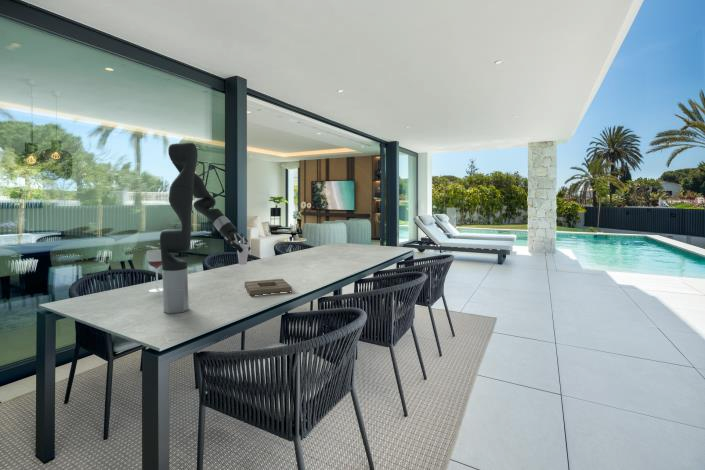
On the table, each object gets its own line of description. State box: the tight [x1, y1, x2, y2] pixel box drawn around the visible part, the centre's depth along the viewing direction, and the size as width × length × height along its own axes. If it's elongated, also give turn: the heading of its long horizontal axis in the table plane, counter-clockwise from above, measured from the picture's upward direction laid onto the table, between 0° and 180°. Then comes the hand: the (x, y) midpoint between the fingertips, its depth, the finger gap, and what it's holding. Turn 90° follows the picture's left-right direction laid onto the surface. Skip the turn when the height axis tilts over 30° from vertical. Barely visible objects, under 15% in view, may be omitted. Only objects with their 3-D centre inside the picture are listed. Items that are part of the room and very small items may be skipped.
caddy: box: [244, 278, 293, 297], centre depth 181 cm, size 20×20×3 cm
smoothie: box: [236, 236, 250, 266], centre depth 180 cm, size 6×6×14 cm
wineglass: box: [145, 248, 163, 293], centre depth 178 cm, size 8×9×20 cm
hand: (245, 250), depth 180 cm, fingers closed on smoothie, 6 cm apart
